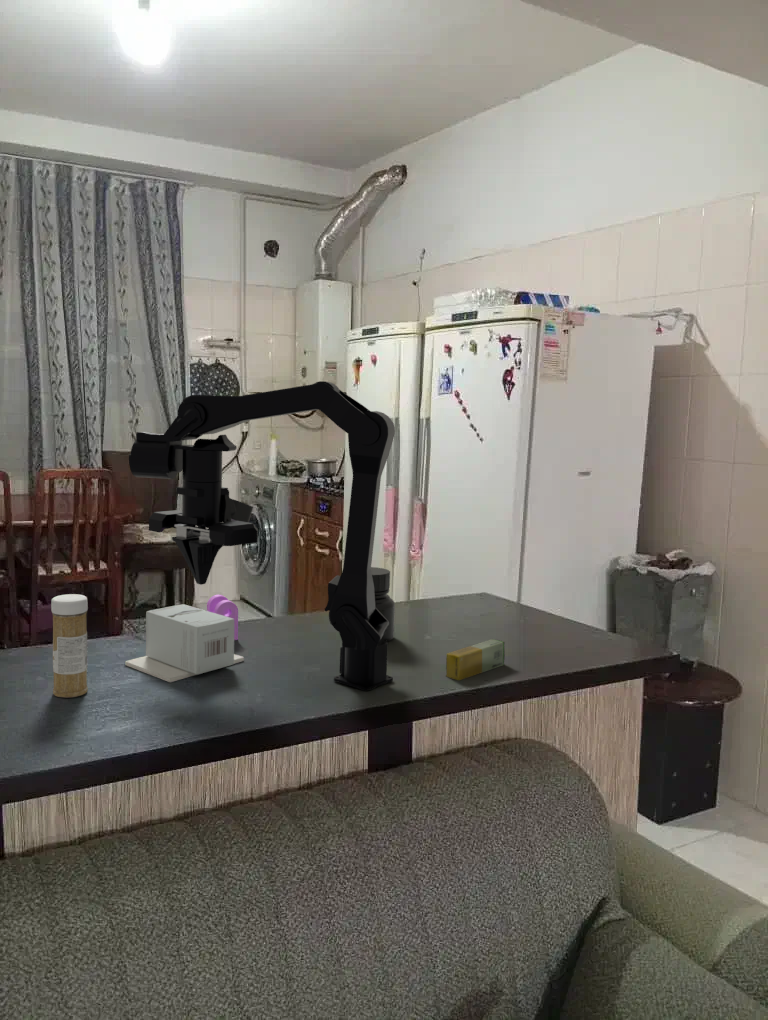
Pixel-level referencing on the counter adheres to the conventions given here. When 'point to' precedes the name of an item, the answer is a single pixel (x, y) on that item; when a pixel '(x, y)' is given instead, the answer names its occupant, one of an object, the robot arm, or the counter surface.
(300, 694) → the counter surface
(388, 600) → the ink bottle
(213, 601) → the bracket
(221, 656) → the supplement box
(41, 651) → the counter surface
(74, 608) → the sprinkles bottle
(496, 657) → the medication box
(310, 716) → the counter surface
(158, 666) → the mat
